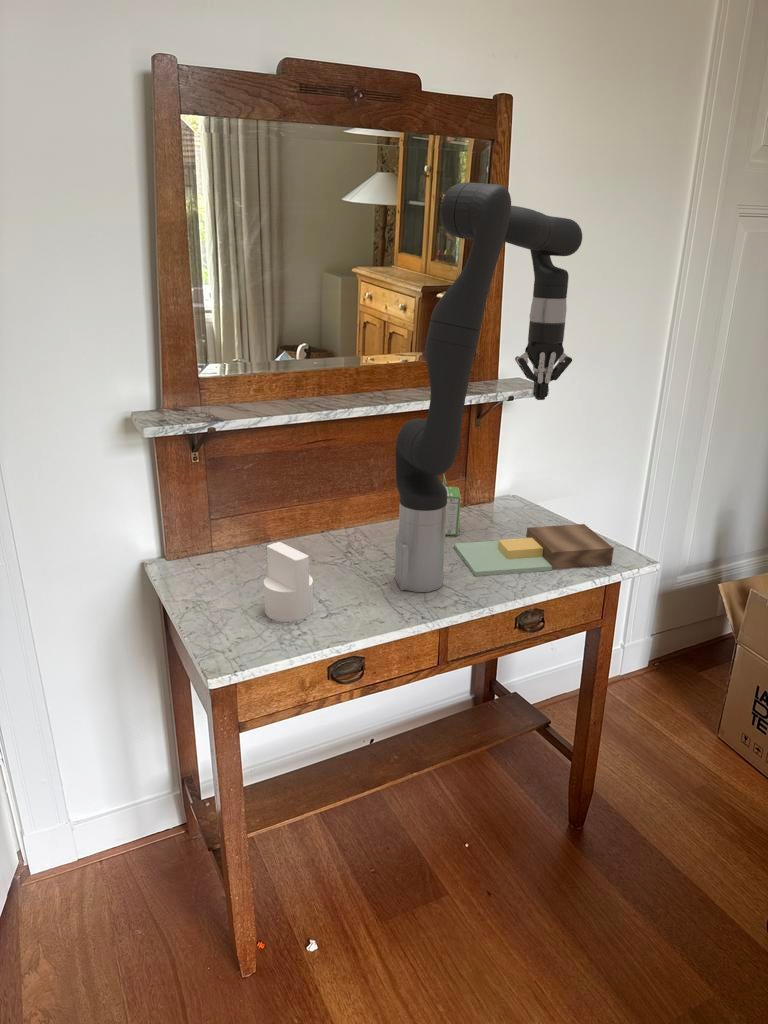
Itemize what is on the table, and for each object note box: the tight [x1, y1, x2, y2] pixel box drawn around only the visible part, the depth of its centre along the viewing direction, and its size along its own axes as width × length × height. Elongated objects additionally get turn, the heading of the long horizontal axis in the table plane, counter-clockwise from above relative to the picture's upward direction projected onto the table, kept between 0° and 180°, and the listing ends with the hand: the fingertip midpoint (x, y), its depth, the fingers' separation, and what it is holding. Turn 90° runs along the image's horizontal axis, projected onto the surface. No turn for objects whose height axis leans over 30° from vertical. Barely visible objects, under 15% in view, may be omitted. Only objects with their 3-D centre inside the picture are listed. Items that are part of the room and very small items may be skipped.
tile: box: [497, 537, 543, 559], centre depth 165 cm, size 8×6×2 cm
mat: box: [453, 540, 553, 577], centre depth 164 cm, size 17×15×1 cm
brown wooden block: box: [525, 523, 614, 570], centre depth 167 cm, size 14×14×4 cm
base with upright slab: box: [263, 541, 314, 623], centre depth 139 cm, size 9×9×12 cm
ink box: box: [442, 473, 462, 537], centre depth 177 cm, size 7×4×13 cm, turn 179°
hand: (539, 399), depth 168 cm, fingers closed
